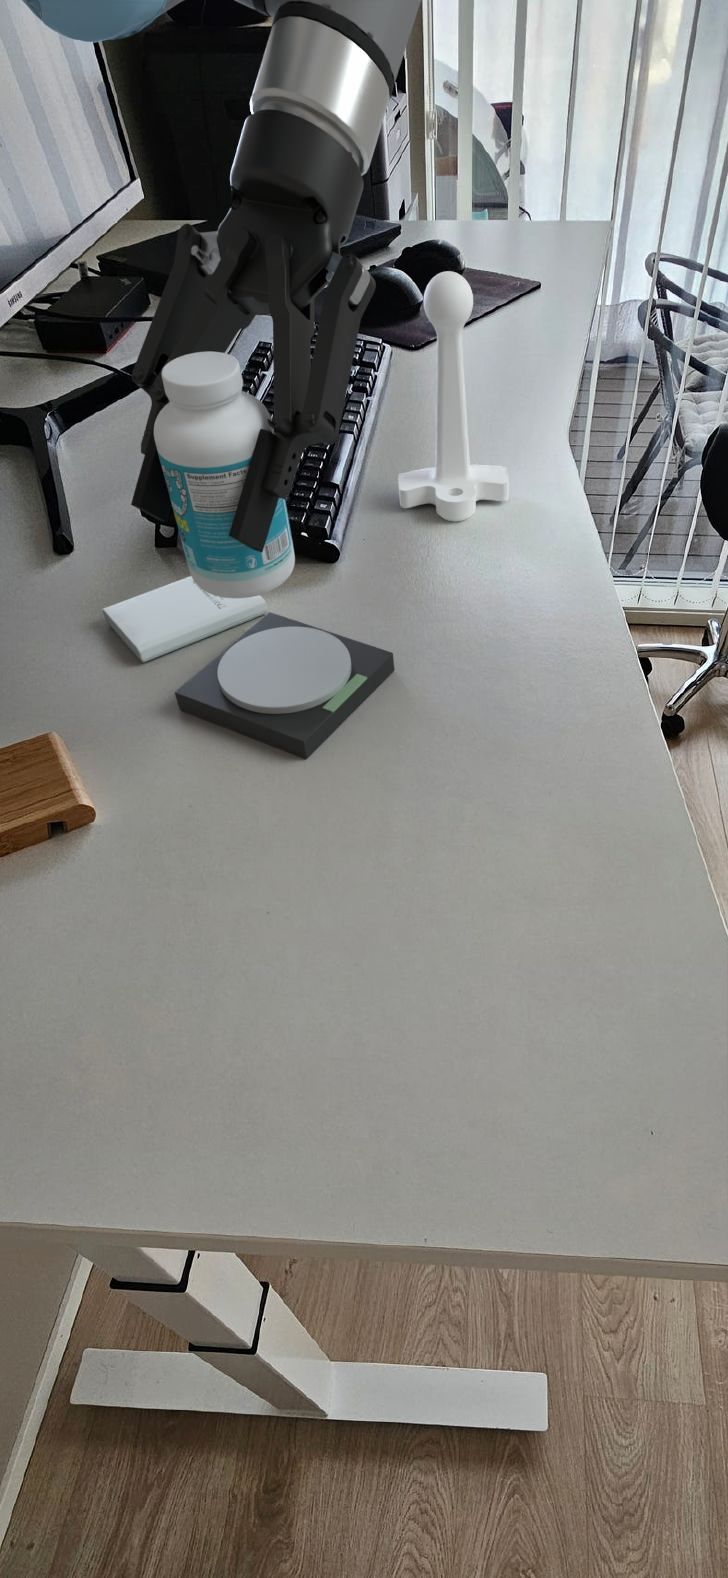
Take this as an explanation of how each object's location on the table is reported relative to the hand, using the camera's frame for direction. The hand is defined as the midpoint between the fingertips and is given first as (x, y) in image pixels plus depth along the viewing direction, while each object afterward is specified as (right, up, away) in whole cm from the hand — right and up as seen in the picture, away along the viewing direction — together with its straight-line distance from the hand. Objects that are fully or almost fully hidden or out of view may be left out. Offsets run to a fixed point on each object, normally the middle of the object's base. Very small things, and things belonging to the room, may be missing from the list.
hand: (196, 528), depth 64 cm
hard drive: (-7, +3, +26) cm, 27 cm away
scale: (+3, -5, +19) cm, 20 cm away
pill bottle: (+2, -1, +6) cm, 6 cm away
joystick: (+17, +18, +37) cm, 45 cm away
